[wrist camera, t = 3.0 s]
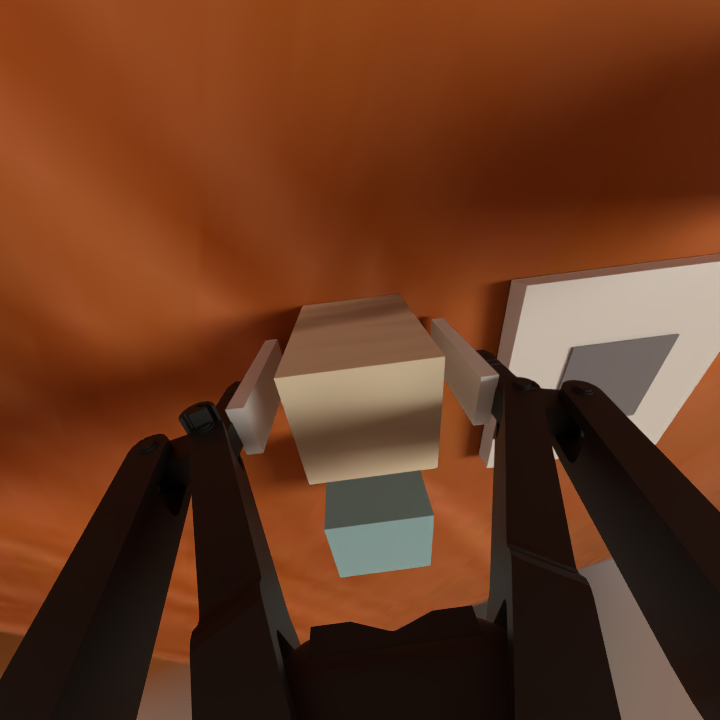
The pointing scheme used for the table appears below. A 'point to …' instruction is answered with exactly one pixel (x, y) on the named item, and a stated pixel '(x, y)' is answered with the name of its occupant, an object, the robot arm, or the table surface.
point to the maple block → (362, 389)
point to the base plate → (616, 335)
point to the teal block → (379, 523)
